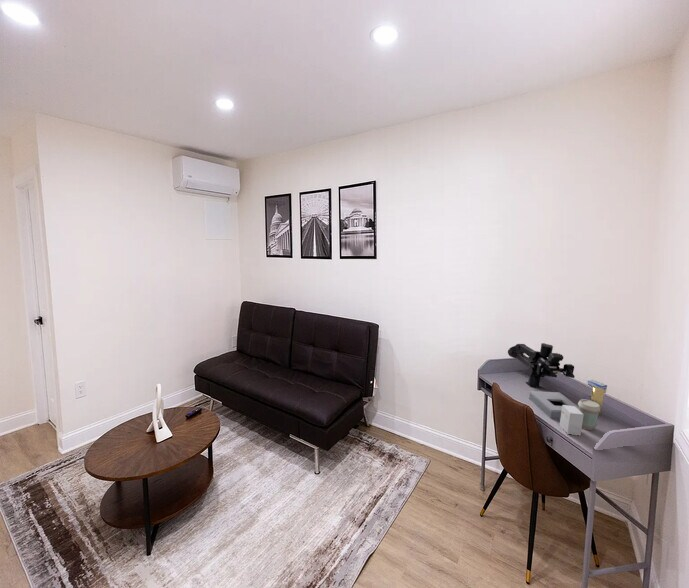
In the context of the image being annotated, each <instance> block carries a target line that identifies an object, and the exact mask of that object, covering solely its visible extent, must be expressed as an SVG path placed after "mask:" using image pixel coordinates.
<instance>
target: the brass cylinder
mask: <svg viewBox="0 0 689 588" xmlns="http://www.w3.org/2000/svg"><path fill="white" fill-rule="evenodd" d="M604 392H605V390H604V389H602V388H600V387H592V392H591V397H590V399H589V400H591V401H594V402H596V403H598V404H599V405H600V411H599V414H598V416H601V412H602V410H603V409H602V408H603V401H604V400H603V397H604Z"/></svg>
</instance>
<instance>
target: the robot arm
mask: <svg viewBox="0 0 689 588" xmlns="http://www.w3.org/2000/svg"><path fill="white" fill-rule="evenodd" d="M553 349H554V346H553V345H552V344H548V343H545V342H543V343H540V351H537V350H534V349H533V348H531V347H529V346H528V345H526V344H525V343H516V345H513V346H511V347H509V349H508V350H507V355H508V356H509V357H511V358H513V359H517V360H518V361H519V362H521V363H522V364H523V365H524V366H526V367H527V369H525V374H526V375H527V376H528V381H525V384H526V385H528V386H529V387H530V388H543V387H542V386H541V383H540V382H541V378H545V377H549V378H557V377H558V375H557V374H559V373H561V374H562V375H563V376H564V377H566V378H567V377H568V378H573V379H575V375H574V371H575V366H574V365H573V364H571V363H569V364H568V363H565V364H563V366H562V368H561V367H560V365H561V363H560V361H563V360H564V355H563V354H561V353H558V352H553Z"/></svg>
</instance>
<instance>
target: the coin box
mask: <svg viewBox="0 0 689 588" xmlns="http://www.w3.org/2000/svg"><path fill="white" fill-rule="evenodd" d="M528 399H529V400H530V401H531V402H532V403H533V404H534V405H535V406H536V407H538V409H540V411H542V412H543V413H544V414H545V415H546V416H547V417H548V418H549V417H550V418H549V419H554V418H555V419H557V420H560V418H561V411H562V405H568V406H575V407H576V408H577V409H579V405H578V404H576V403H574V402H573V401H571V399H569V398H567V396H565V395H564V394H562V392H560V391H558V392H557V391H556V392H555V391H541V390H540V391H538V390H537V391H536V390H535V391H533V390H530V391H529V397H528ZM552 402H558V403H560V404H561V405H554V404H553V403H552Z"/></svg>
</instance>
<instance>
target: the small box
mask: <svg viewBox="0 0 689 588" xmlns="http://www.w3.org/2000/svg"><path fill="white" fill-rule="evenodd" d="M561 406H562V411H561V418H560V419H559V427H560V428H561V429H564V430H565V431H566V432H567V433H566V432H565V431H564V430H563V431H564V432H565V433H566V435H569V434H572V435H571V436H577V435H579V436H581V435H582V434H581V433H582V429H583V428H582V423H583V417H584V414H582V413H581V412H580V411H579V410H578V409H577V408H576V407H575V406H568V405H562V404H561Z"/></svg>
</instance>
